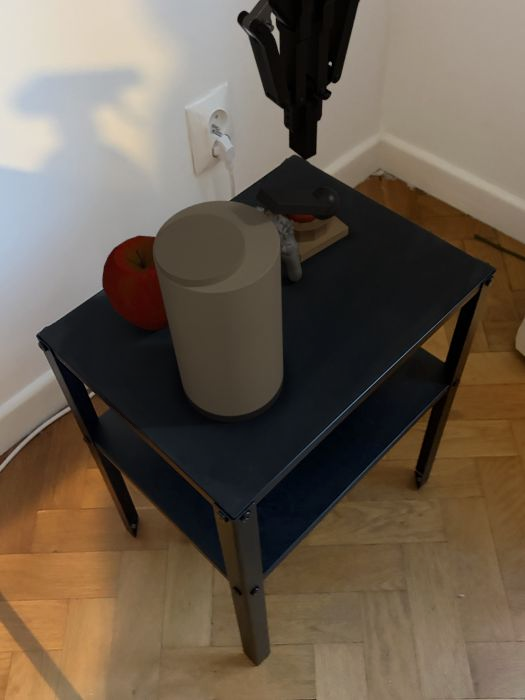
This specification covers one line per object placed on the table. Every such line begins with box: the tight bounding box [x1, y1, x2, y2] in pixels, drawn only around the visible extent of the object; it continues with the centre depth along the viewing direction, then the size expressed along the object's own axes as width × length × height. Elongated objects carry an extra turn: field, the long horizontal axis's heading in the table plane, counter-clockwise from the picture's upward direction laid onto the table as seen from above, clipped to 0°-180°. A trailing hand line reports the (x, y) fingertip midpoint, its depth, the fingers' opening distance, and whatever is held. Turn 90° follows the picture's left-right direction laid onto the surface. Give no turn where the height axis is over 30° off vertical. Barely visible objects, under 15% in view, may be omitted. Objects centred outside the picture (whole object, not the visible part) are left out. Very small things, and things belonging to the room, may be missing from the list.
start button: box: [287, 189, 316, 223], centre depth 81 cm, size 4×4×2 cm
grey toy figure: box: [253, 205, 303, 282], centre depth 77 cm, size 9×12×8 cm
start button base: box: [264, 209, 349, 264], centre depth 83 cm, size 8×7×3 cm
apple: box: [101, 235, 169, 331], centre depth 73 cm, size 9×8×11 cm
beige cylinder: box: [153, 200, 284, 423], centre depth 64 cm, size 10×10×20 cm
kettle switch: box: [255, 185, 341, 220], centre depth 60 cm, size 3×8×3 cm
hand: (302, 150), depth 75 cm, fingers closed
